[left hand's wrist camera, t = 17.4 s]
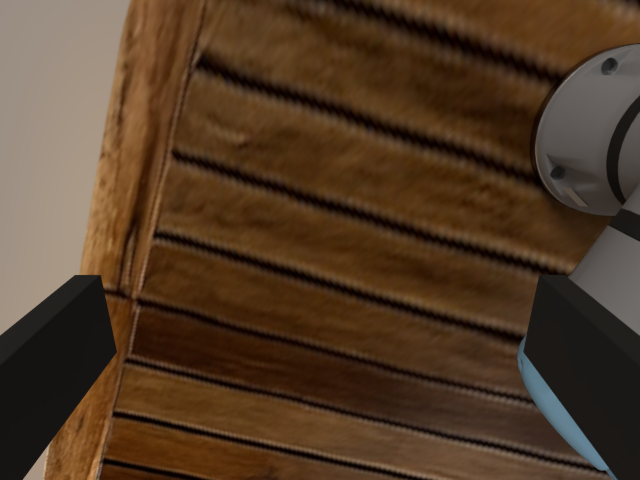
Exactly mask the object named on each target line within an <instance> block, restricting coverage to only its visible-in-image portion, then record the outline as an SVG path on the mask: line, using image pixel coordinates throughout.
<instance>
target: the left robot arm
mask: <svg viewBox="0 0 640 480" xmlns="http://www.w3.org/2000/svg"><path fill="white" fill-rule="evenodd" d="M530 153H531V161H532V166H533V169H534V172H535V174H536V177H537V179H538V180H539V182H540V184H541V185H542V187H543V188H544V189H545V190H546V191H547V192H548V193H549V194H550V195H551V196H552V197H553V198H555V199H556V200H558V201H559V202H561V203H563V204H565V205H567V206H569V207H571V208H573V209H575V210H578V211H581V212H585V213H590V214H595V215H608V216H615V217H614V218H613V220H612V221H611V222H610V224H608V225H607V227H606V228H605V229H604V231H603V232H602V233H601V235H600V236H599V237H598V238H597V240H596V241H595V242H594V244H593V245H592V246H591V248H590V249H589V250H588V252H587V253H586V254H585V256H584V257H583V258H582V259H581V261H580V262H579V263H578V265H577V266H576V267H575V269H574V270H573V271H572V273H571V274H570V275H569V277H567V276H565V275H539V280H538V284H537V289H536V294H535V298H534V303H533V308H532V312H531V317H530V322H529V327H528V331H527V334H526V336H525V337H524V339H523V340H522V342H521V343H520V346H519V349H518V354H517V360H518V366H519V370H520V372H521V376H522V380H523V383H524V385H525V387H526V389H527V390H528V392H529V394H530V396H531V398H532V399H533V401H534V402H535V404H536V405H537V407H538V408H539V410H540V411H541V412H542V414H543V415H544V416H545V417H546V419H547V420H548V421H549V422H550V424H551V425H552V426H553V427H554V428H555V429H556V431H557V432H558V433H559V434H560V435H561V436H562V437H563V438H564V439H565V440H566V441H567V442H568V443H569V445H570V446H572V447H573V448H574V449H575V450H576V451H577V452H578V453H579V454H580V455H581V456H582V457H583V458H585V459H586V460H587V461H588V462H589V463H591V464H592V465H593V466H595V467H596V468H597V469H599V470H606V472H607V473H608V474H609V475H610V476H611V478H612V479H613V480H640V43H637V44H627V45H620V46H615V47H611V48H608V49H604V50H602V51H599V52H597V53H595V54H593V55H591V56H589V57H587V58H585V59H584V60H582V61H581V62H579V63H578V64H576V65H575V66H574V67H572V68H571V69H570V70H569V71H568V72H567V73H565V74H564V75H563V76H562V77H561V78H560V79H559V80H558V82H557V83H556V84H555V85H554V86H553V88H552V89H551V90H550V92H549V93H548V95H547V96H546V98H545V99H544V101H543V103H542V105H541V107H540V109H539V111H538V113H537V116H536V118H535V122H534V125H533V129H532V134H531V142H530ZM116 353H117V350H116V345H115V341H114V336H113V331H112V327H111V322H110V317H109V312H108V308H107V303H106V298H105V294H104V289H103V284H102V280H101V275H75V276H73V277H72V278H71V279H70V280H68V281H67V282H66V283H65V284H63V285H62V286H61V287H60V288H59V289H57V290H56V291H55V292H54V293H52V294H51V295H50V296H49V297H47V298H46V299H45V300H44V301H42V302H41V303H40V304H39V305H38V306H36V307H35V308H34V309H33V310H31V311H30V312H29V313H28V314H26V315H25V316H24V317H23V318H21V319H20V320H19V321H18V322H16V323H15V324H14V325H13V326H12V327H10V328H9V329H8V330H7V331H5V332H4V333H3V334H2V335H0V480H23V479H24V477H25V476H26V474H27V473H28V472H29V470H30V469H31V468H32V466H33V465H34V464H35V462H36V461H37V460H38V458H39V457H40V456H41V454H42V453H43V451H44V450H45V449H46V447H47V446H48V445H49V443H50V442H51V441H52V439H53V438H54V437H55V435H56V434H57V432H58V431H59V430H60V428H61V427H62V426H63V424H64V423H65V422H66V420H67V419H68V418H69V416H70V415H71V414H72V412H73V411H74V409H75V408H76V407H77V405H78V404H79V403H80V401H81V400H82V399H83V397H84V396H85V395H86V393H87V392H88V390H89V389H90V388H91V386H92V385H93V384H94V382H95V381H96V380H97V378H98V377H99V376H100V374H101V373H102V372H103V370H104V369H105V367H106V366H107V365H108V363H109V362H110V361H111V359H112V358H113V357H114V355H115V354H116Z"/></svg>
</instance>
